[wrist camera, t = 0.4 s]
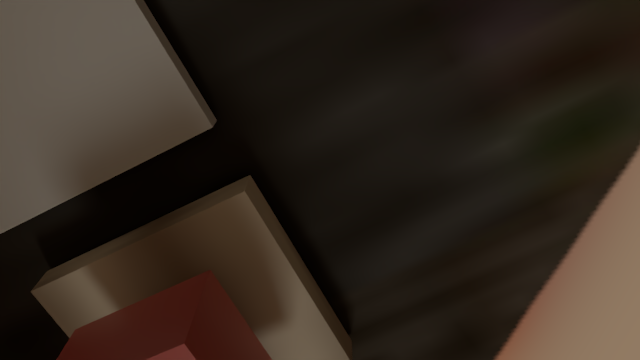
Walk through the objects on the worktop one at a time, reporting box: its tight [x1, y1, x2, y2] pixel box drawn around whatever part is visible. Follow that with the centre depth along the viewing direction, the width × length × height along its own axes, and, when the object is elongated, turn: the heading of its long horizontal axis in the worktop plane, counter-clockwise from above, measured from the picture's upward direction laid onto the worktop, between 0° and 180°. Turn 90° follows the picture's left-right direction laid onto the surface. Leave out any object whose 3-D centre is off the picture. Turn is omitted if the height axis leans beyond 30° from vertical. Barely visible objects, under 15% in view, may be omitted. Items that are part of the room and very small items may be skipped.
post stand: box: [31, 175, 352, 360], centre depth 23 cm, size 10×9×6 cm
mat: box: [0, 0, 217, 234], centre depth 22 cm, size 10×8×1 cm
